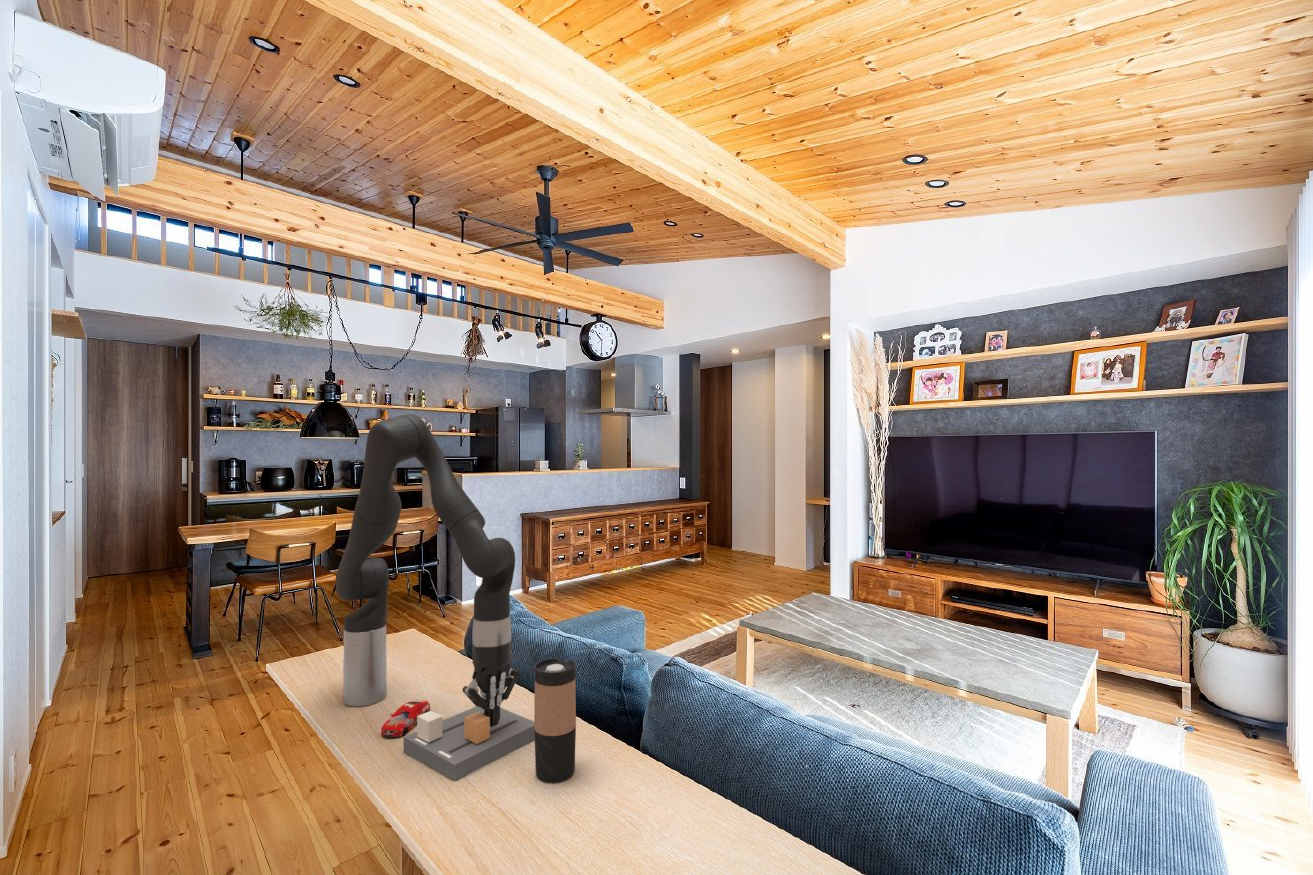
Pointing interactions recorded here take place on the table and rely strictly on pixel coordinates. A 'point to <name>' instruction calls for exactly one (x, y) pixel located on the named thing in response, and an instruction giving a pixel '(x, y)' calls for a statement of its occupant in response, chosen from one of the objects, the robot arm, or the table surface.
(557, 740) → the travel mug
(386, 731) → the race car
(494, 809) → the table surface
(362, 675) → the robot arm
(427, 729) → the fader
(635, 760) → the table surface
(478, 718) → the fader
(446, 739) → the console
